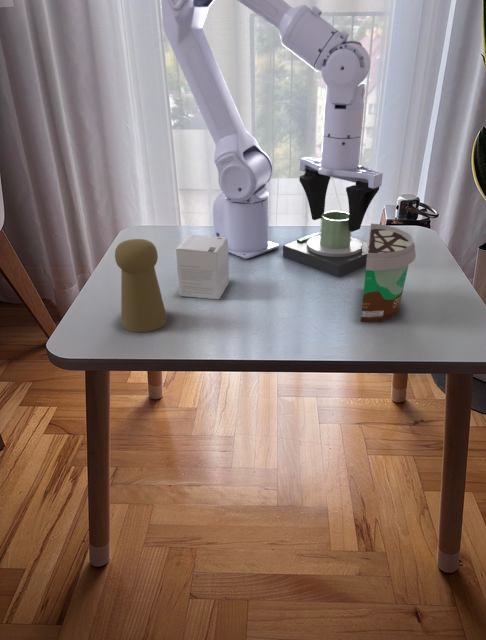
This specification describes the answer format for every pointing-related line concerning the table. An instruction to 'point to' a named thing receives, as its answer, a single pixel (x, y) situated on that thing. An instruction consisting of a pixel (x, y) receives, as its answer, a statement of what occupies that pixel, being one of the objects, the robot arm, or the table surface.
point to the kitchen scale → (327, 255)
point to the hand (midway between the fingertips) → (335, 224)
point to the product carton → (203, 266)
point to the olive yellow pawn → (139, 286)
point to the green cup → (335, 230)
